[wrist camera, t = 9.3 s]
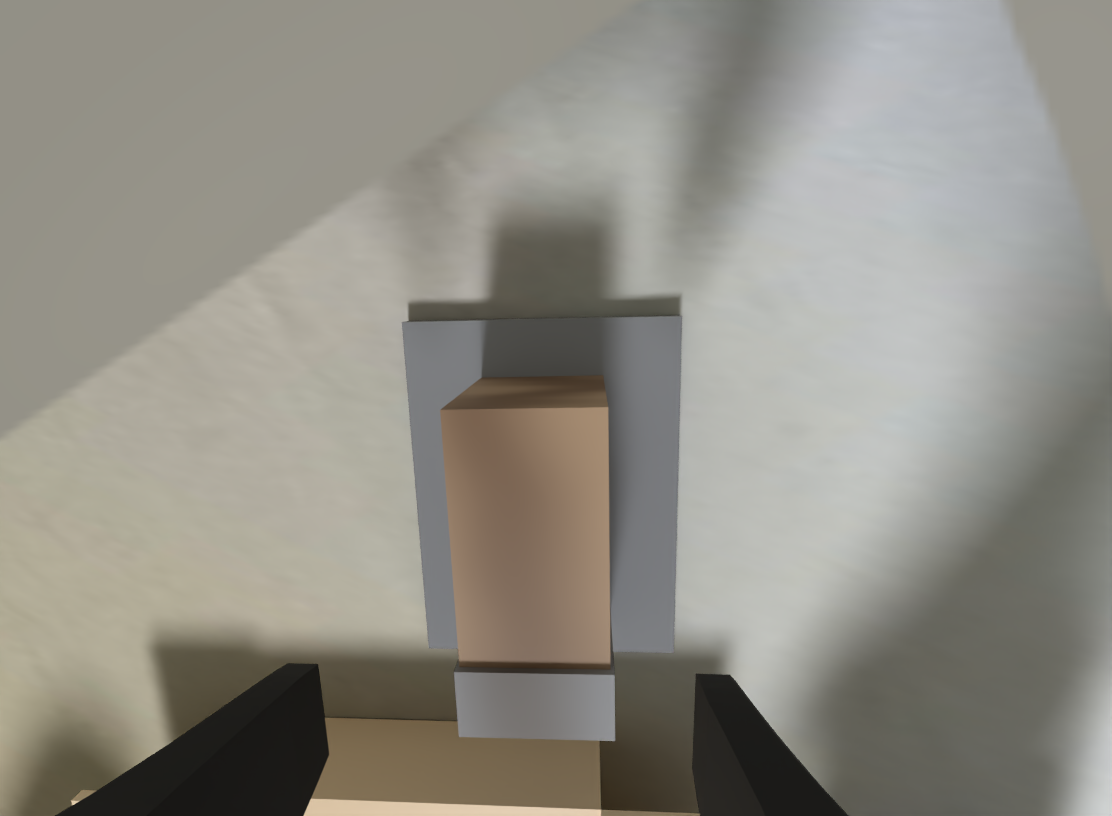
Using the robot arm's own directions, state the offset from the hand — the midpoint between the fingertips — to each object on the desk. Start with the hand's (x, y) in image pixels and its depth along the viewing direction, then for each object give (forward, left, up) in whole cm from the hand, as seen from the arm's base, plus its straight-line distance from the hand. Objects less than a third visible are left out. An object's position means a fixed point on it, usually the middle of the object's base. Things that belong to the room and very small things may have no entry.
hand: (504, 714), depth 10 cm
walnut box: (0, -2, -9) cm, 9 cm away
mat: (0, -1, -9) cm, 9 cm away
